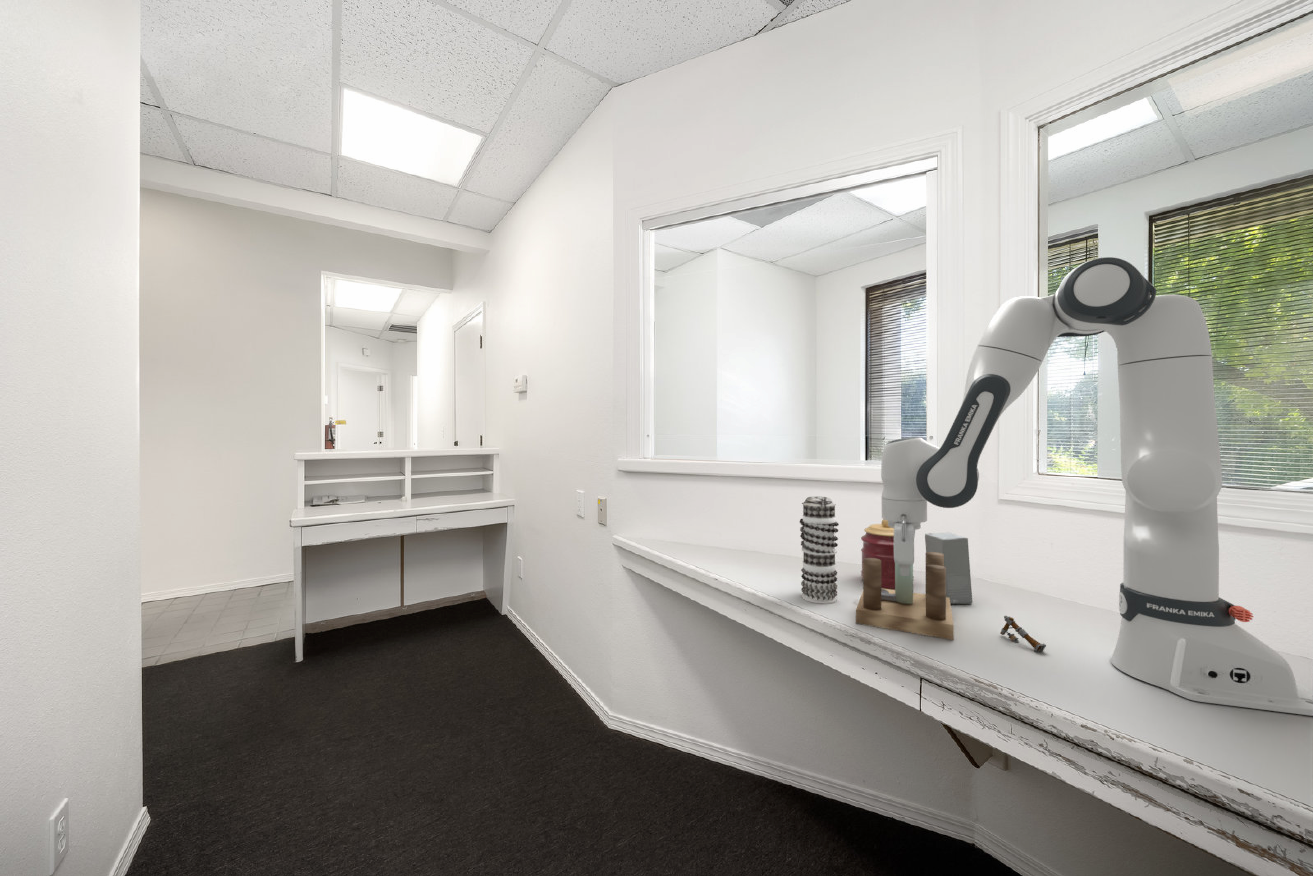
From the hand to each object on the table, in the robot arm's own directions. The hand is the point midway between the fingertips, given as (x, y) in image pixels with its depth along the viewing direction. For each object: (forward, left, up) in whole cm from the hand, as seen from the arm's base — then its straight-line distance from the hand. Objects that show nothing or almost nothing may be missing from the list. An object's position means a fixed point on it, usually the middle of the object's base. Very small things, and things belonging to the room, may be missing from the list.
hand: (904, 575), depth 105 cm
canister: (+5, -28, -10) cm, 30 cm away
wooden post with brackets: (-20, +2, -11) cm, 23 cm away
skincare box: (-9, -21, -10) cm, 25 cm away
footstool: (0, -3, -10) cm, 11 cm away
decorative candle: (+19, -7, -10) cm, 23 cm away
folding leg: (+3, -3, -7) cm, 8 cm away
